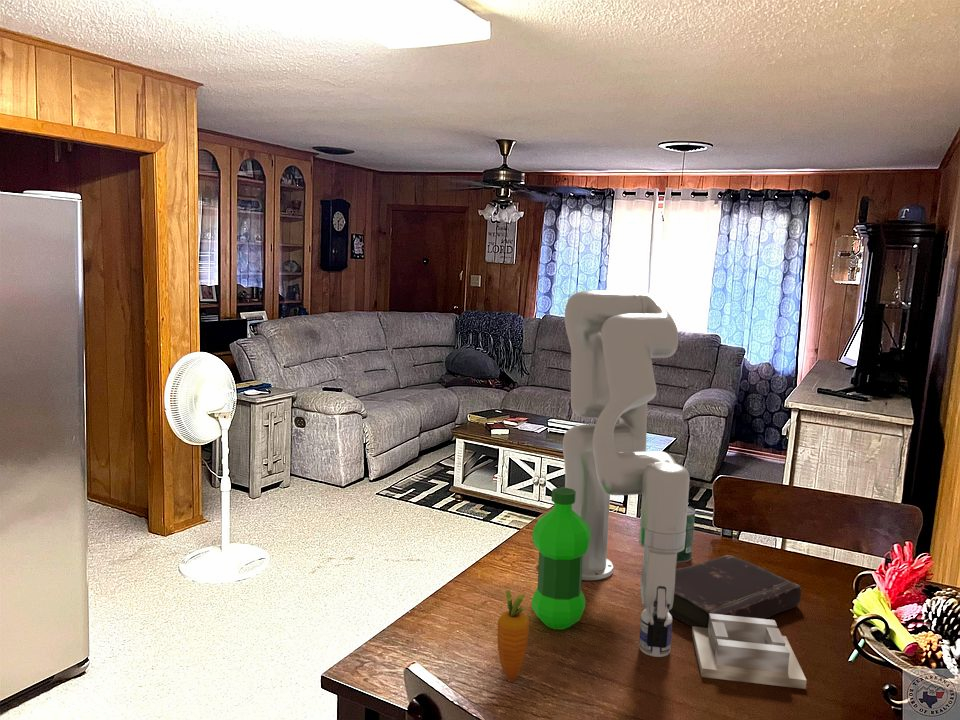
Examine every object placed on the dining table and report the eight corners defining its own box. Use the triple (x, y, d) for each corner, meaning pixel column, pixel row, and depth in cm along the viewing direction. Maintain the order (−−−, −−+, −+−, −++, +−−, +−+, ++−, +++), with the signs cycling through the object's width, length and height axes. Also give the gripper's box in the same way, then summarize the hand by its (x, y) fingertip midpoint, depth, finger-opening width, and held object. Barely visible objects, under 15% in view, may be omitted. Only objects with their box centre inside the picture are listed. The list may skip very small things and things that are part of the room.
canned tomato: (656, 560, 167) (659, 513, 166) (656, 547, 175) (659, 501, 173) (692, 564, 165) (696, 516, 164) (691, 551, 173) (694, 505, 171)
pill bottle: (667, 643, 132) (671, 595, 130) (672, 659, 126) (676, 609, 125) (637, 640, 132) (640, 593, 131) (640, 656, 127) (643, 607, 126)
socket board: (701, 676, 121) (703, 648, 121) (691, 634, 135) (693, 607, 134) (805, 689, 119) (808, 659, 118) (785, 644, 132) (787, 617, 132)
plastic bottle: (589, 614, 141) (596, 486, 138) (579, 641, 131) (586, 503, 128) (537, 605, 144) (543, 479, 141) (524, 631, 134) (529, 496, 131)
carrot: (493, 673, 120) (497, 585, 118) (524, 673, 121) (528, 585, 119) (497, 691, 116) (500, 599, 113) (529, 691, 116) (533, 599, 114)
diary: (801, 609, 146) (803, 585, 146) (718, 643, 132) (720, 616, 132) (722, 573, 161) (724, 550, 161) (640, 600, 147) (642, 575, 147)
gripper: (637, 517, 135) (631, 611, 138) (641, 554, 118) (634, 661, 121) (680, 520, 134) (673, 616, 137) (690, 558, 117) (682, 666, 120)
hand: (655, 636), depth 129 cm, fingers closed on pill bottle, 5 cm apart
